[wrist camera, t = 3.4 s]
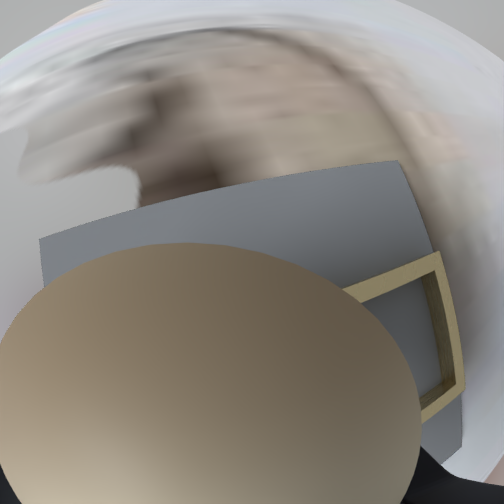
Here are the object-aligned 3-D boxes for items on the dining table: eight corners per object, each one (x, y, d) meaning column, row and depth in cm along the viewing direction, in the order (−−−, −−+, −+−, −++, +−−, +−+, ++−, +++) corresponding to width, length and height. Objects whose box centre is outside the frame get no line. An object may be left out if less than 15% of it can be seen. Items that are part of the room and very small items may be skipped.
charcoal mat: (455, 444, 15) (461, 446, 14) (174, 561, 10) (174, 567, 9) (391, 165, 19) (397, 160, 18) (45, 242, 14) (39, 239, 13)
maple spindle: (278, 388, 14) (449, 520, 2) (166, 418, 12) (102, 608, 1) (244, 277, 14) (383, 141, 3) (130, 307, 13) (-73, 265, 2)
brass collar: (451, 386, 15) (465, 388, 14) (335, 459, 13) (346, 469, 11) (424, 255, 17) (439, 250, 15) (292, 304, 15) (302, 302, 13)
